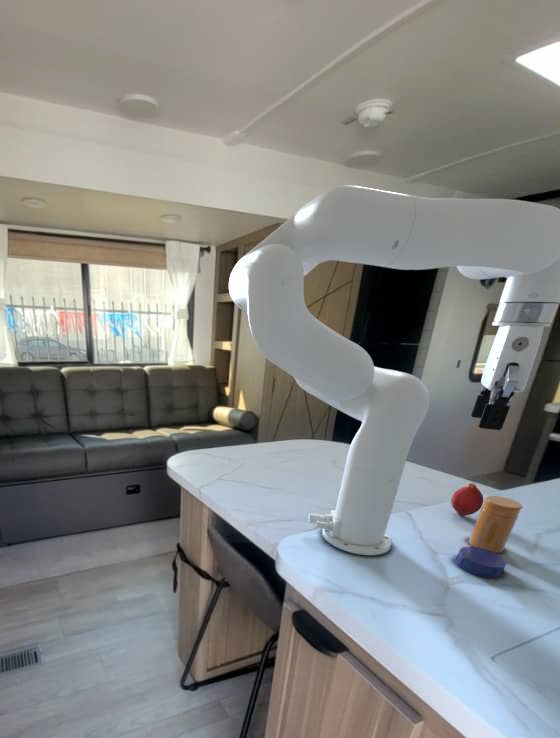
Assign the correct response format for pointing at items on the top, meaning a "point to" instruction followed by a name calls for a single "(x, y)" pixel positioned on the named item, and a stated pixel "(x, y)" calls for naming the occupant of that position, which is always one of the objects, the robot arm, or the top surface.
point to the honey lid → (481, 562)
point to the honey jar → (495, 523)
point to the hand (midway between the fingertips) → (484, 423)
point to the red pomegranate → (467, 500)
